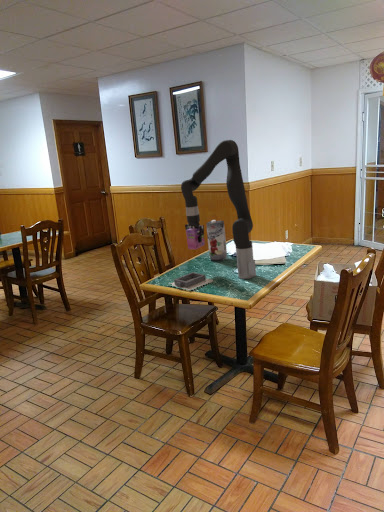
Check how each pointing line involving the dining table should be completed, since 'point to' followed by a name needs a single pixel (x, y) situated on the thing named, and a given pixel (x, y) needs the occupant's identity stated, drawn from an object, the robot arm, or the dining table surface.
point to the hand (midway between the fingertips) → (196, 241)
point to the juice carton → (216, 240)
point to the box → (194, 239)
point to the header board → (191, 281)
